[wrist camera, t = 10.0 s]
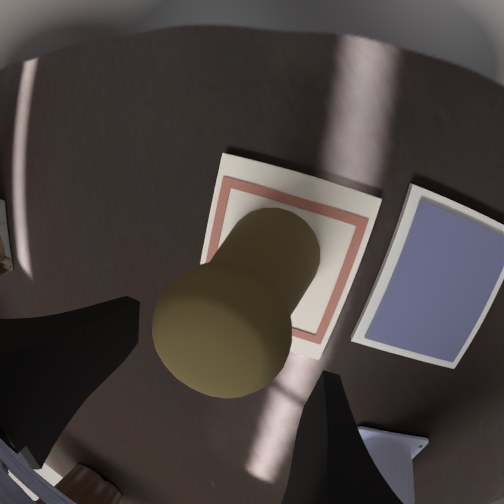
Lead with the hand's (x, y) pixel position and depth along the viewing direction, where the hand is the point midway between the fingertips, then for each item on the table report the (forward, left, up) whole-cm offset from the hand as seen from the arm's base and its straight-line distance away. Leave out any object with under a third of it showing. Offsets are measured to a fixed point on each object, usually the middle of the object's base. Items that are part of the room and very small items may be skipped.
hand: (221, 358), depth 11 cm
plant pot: (-62, +22, -11) cm, 67 cm away
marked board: (0, 0, -10) cm, 10 cm away
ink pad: (+2, -11, -10) cm, 15 cm away
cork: (+1, 0, -10) cm, 10 cm away
